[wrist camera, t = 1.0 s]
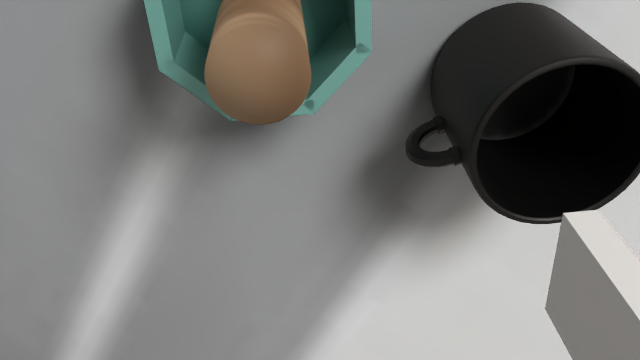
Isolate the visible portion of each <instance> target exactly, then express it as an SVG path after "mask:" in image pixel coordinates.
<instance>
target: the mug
mask: <svg viewBox="0 0 640 360" xmlns="http://www.w3.org/2000/svg"><path fill="white" fill-rule="evenodd" d="M431 98H432V104H433V107H434V110H435V113H436V115H437V116H436V117H434V118H433V120H431V121H429V122H426V123H424V124H422V125H421V126H419V127H418V128H416V129H415V130H414V131H413V132H412V133H411V134H410V135H409V137H408V138H407V140H406V154H407V156H408V158H409V159H410V160H411V161H412V162H414V163H416V164H419V165H422V166H426V167H444V166H449V165H458V164H461V163H462V165H463V167H464V169H465V171H466V172H467V174H468V176H469V178H470V180H471V182H472V184H473V186H474V188H475V190H476V191H477V193H478V194H479V196H480V197H481V199H482V200H483V201H484V202H485V203H486V204H487V205H488V206H489V207H491V208H492V209H493V210H495V211H496V212H498V213H499V214H501V215H503V216H505V217H508V218H510V219H513V220H516V221H520V222H524V223H531V224H551V223H559V222H562V216H563V213H569V212H579V211H590V210H597V209H599V208H601V207H602V206H604V205H605V204H607V203H608V202H610V201H611V200H613V199H614V198H616V197H617V196H618V195H619V194H620V193H622V192H623V191H624V190H625V189H626V188H627V187H628V186H629V185H630V184H631V183H632V182H633V181H634V180H635V178H636V177H637V176H638V175H639V173H640V74H639V73H638V72H637V71H636V70H635V69H633V68H632V67H631V66H629V65H628V64H627V63H625V62H624V61H623V60H621V59H620V58H619V57H617V56H616V55H615V54H613V53H612V52H611V51H609V50H608V49H607V48H605V47H604V46H603V45H601V44H600V43H599V42H597V41H596V40H595V39H593V38H592V37H591V36H589V35H588V34H587V33H585V32H584V31H583V30H581V29H580V28H579V27H577V26H576V25H575V24H573V23H572V22H571V21H569V20H568V19H567V18H565V17H564V16H563V15H561V14H559V13H558V12H556V11H555V10H553V9H550V8H548V7H546V6H543V5H538V4H533V3H511V4H505V5H501V6H498V7H494V8H491V9H489V10H487V11H485V12H482V13H480V14H478V15H477V16H475V17H473V18H472V19H470V20H469V21H467V22H466V23H465V24H464V25H463V26H461V27H460V28H459V29H458V30H457V31H456V32H455V33H454V34H453V35H452V36H451V38H450V39H449V40H448V42H447V43H446V44H445V46H444V47H443V49H442V51H441V53H440V55H439V57H438V59H437V61H436V64H435V67H434V70H433V74H432V79H431ZM437 132H438V133H439V134H440V133H443V132H446V134H447V136H448V138H449V140H450V142H451V144H452V146H453V147H452V148H449V150H446V151H441V152H429V151H425V150H423V149H421V148H420V144H421V143H422V142H423V141H424V140H425V139H426V138H427V137H429V136H431V135H433V134H435V133H437Z"/></svg>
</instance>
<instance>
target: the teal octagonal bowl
mask: <svg viewBox="0 0 640 360" xmlns="http://www.w3.org/2000/svg"><path fill="white" fill-rule="evenodd" d="M220 2H221V0H144V4H145V9H146V13H147V18H148V22H149V27H150V32H151V36H152V41H153V45H154V50H155V55H156V59H157V64H158V68H159V71H161V72H162V73H163V74H165V75H166V76H168V77H169V78H170V79H172V80H173V81H175V82H176V83H178V84H179V85H180V86H182V87H183V88H185V89H186V90H187V91H189V92H190V93H192V94H193V95H195V96H196V97H197V98H199V99H200V100H202V101H203V102H204V103H206V104H207V105H209V106H210V107H211V108H213V109H214V110H216V111H217V112H219V113H220V114H221V115H223V116H224V117H226V118H227V119H228V120H230V121H237V120H236V119H234V118H232V117H230V116H228V115H227V114H225V113H224V112H223V111H222V110H221V109H220V108H219V107H218V106H217V105H216V104H215V103H214V101H213V100H212V98H211V97H210V95H209V93H208V90H207V87H206V83H205V76H204V71H205V63H206V59H207V55H208V51H209V47H210V43H211V38H212V34H213V30H214V26H215V22H216V18H217V14H218V10H219V6H220ZM301 6H302V12H303V19H304V26H305V33H306V39H307V46H308V53H309V60H310V66H311V85H310V89H309V92H308V95H307V97H306V99H305V100H304V102H303V103H302V105H301V106H300V107H299V108H298V109H297V110H296V111H295V112H294V113H293V114H291V115H290V116H294V115H305V114H315V113H316V111H317V110H318V109H319V108H320V107H321V106H322V105H323V104H324V103H325V102H326V101H327V100H328V99H329V98H330V97H331V95H332V94H333V93H334V92H335V91H336V90H337V89H338V88H339V87H340V86H341V85H342V84H343V83H344V82H345V81H346V79H347V78H348V77H349V76H350V75H351V74H352V73H353V72H354V71H355V70H356V69H357V68H358V67H359V66H360V65H361V63H362V62H363V61H364V60H365V59H366V58H367V57H368V56H369V55H370V54H371V53H372V13H371V0H301Z"/></svg>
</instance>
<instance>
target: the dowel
mask: <svg viewBox="0 0 640 360" xmlns="http://www.w3.org/2000/svg"><path fill="white" fill-rule="evenodd" d="M204 76H205V83H206V87H207V90H208V93H209V95H210V97H211V98H212V100H213V101H214V103H215V104H216V105H217V106H218V107H219V108H220V109H221V110H222V111H223V112H224V113H225V114H227V115H228V116H230V117H232V118H234V119H236V120H238V121H241V122H244V123H248V124H256V125H261V124H270V123H274V122H278V121H280V120H283V119H285V118H286V117H288V116H290V115H291V114H293V113H294V112H295V111H296V110H297V109H298V108H299V107H300V106H301V105H302V103H303V102H304V100H305V99H306V97H307V95H308V92H309V89H310V85H311V66H310V60H309V53H308V46H307V39H306V33H305V26H304V19H303V12H302V6H301V0H221V2H220V6H219V10H218V14H217V18H216V22H215V26H214V30H213V34H212V38H211V43H210V47H209V51H208V55H207V59H206V63H205V71H204Z"/></svg>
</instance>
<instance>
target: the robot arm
mask: <svg viewBox="0 0 640 360" xmlns="http://www.w3.org/2000/svg"><path fill="white" fill-rule="evenodd" d="M545 310H546V311H547V313H548V315H549V317H550V319H551V321H552V322H553V324H554V326H555V328H556V330H557V332H558V333H559V335H560V337H561V339H562V341H563V343H564V344H565V346H566V348H567V350H568V352H569V354H570V355H571V357H572V359H573V360H640V260H639V259H638V257H637V256H636V255H635V254H634V252H633V251H632V250H631V249H630V248H629V246H628V245H627V244H626V243H625V241H624V240H623V239H622V238H621V236H620V235H619V234H618V233H617V231H616V230H615V229H614V228H613V226H612V225H611V224H610V223H609V222H608V220H607V219H606V218H605V217H604V215H603V214H602V213H601V212H600V210H590V211H579V212H569V213H563V216H562V222H561V227H560V232H559V238H558V243H557V248H556V254H555V259H554V264H553V270H552V275H551V281H550V286H549V291H548V297H547V302H546V307H545Z"/></svg>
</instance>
